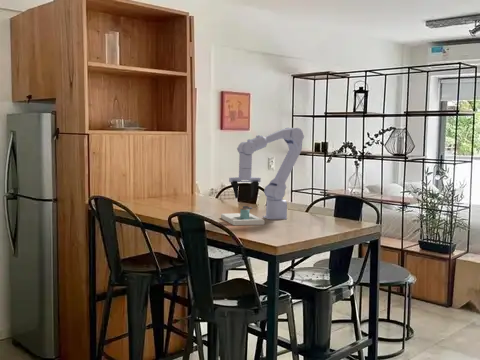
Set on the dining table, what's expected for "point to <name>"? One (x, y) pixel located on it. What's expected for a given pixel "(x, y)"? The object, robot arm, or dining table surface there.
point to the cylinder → (244, 214)
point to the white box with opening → (235, 220)
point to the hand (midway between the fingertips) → (244, 197)
